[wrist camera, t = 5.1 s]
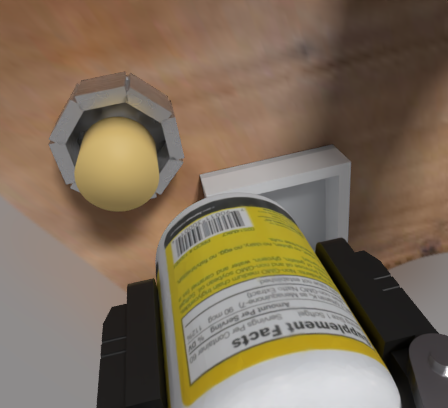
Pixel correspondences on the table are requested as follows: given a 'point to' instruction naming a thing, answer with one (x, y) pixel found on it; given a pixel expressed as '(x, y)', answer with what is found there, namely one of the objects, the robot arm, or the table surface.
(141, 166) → the yellow rounded lump
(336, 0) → the table surface
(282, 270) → the supplement bottle
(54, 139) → the socket
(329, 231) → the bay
